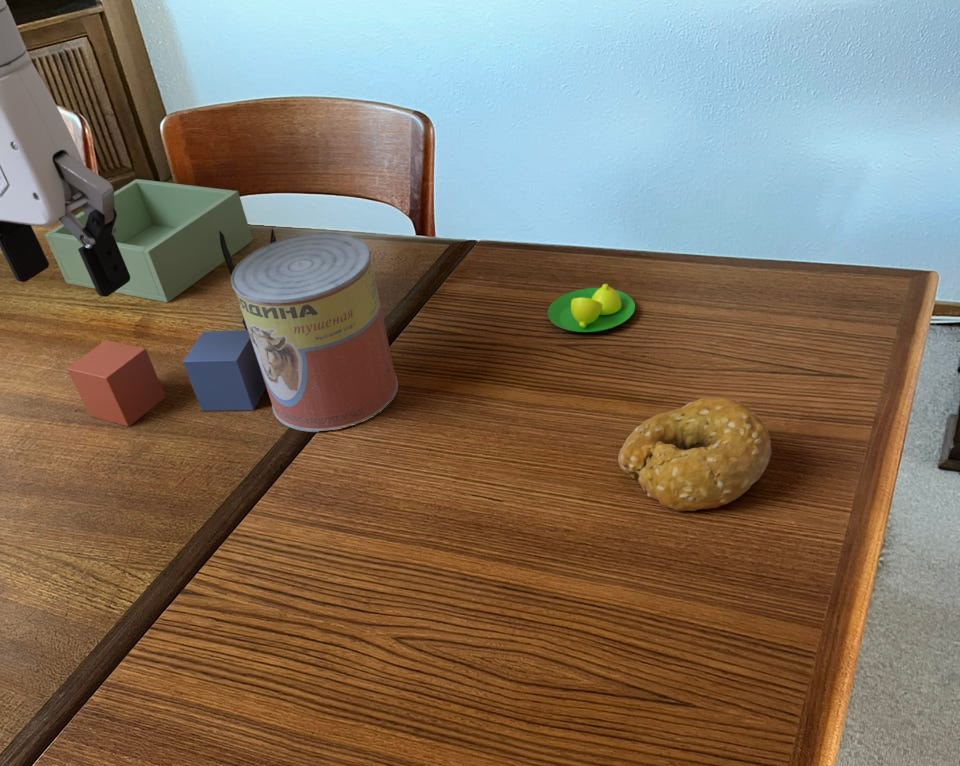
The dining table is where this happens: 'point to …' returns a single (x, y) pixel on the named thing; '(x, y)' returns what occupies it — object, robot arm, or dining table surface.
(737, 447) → the bagel
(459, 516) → the dining table surface
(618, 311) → the green plate with lemons
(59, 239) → the bin
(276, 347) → the canned food
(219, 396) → the slate-blue block
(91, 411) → the terracotta block
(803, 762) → the dining table surface
